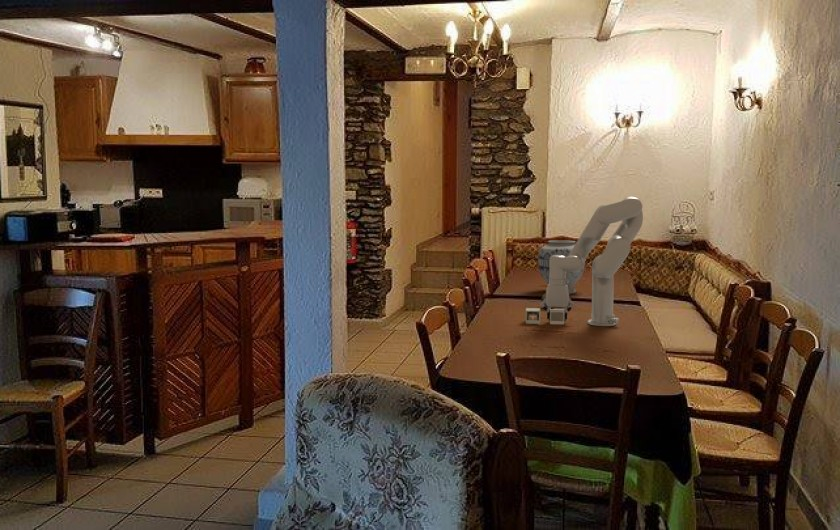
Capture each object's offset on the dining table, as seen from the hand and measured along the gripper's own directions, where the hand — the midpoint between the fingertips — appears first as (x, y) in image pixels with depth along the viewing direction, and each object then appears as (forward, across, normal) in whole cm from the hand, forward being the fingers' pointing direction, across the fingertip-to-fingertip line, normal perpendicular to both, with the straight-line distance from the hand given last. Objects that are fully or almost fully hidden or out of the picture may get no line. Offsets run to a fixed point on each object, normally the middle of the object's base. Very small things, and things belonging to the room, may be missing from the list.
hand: (557, 320), depth 340 cm
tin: (+1, 0, -38) cm, 38 cm away
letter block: (+1, +11, 0) cm, 11 cm away
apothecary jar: (+1, -3, -93) cm, 93 cm away
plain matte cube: (+1, +11, 0) cm, 11 cm away
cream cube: (+1, 0, 0) cm, 1 cm away
